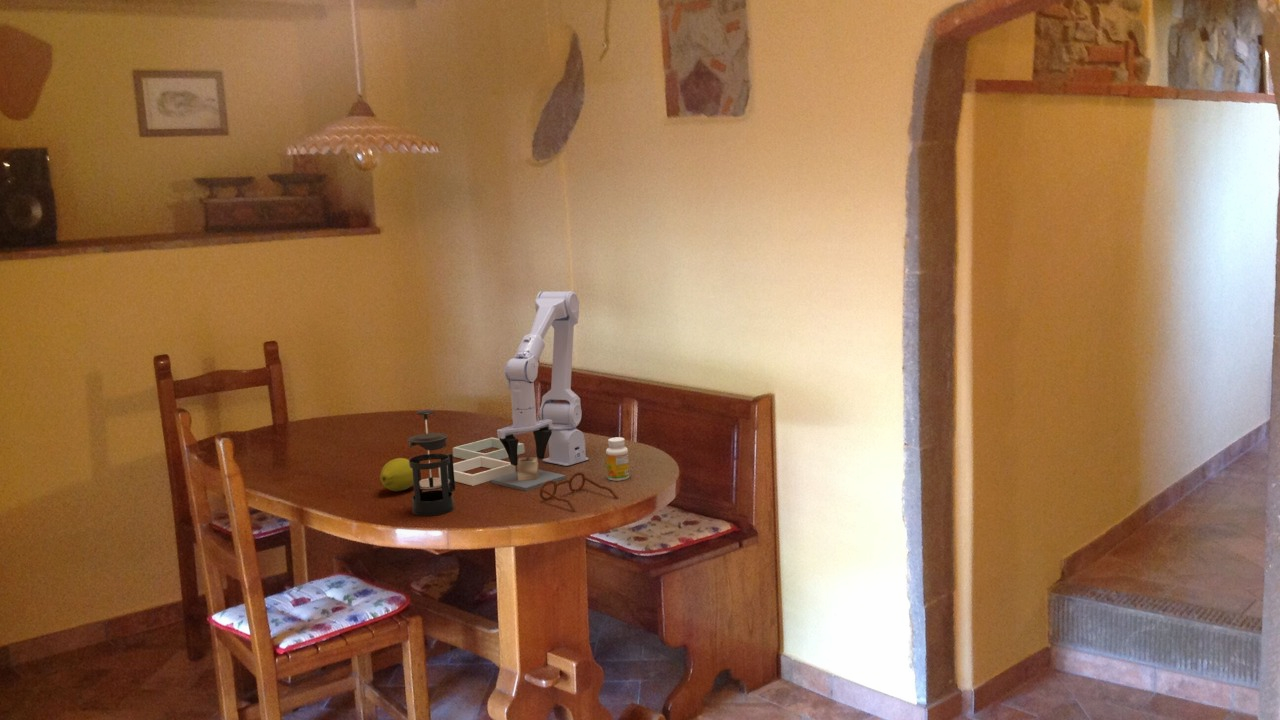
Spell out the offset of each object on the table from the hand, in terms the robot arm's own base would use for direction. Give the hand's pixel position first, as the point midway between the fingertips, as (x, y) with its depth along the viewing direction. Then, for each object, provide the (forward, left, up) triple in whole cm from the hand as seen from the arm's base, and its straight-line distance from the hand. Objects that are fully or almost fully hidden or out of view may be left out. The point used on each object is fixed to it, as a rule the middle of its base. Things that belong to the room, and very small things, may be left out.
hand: (527, 461), depth 272 cm
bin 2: (+15, +4, -5) cm, 16 cm away
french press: (0, +28, -5) cm, 29 cm away
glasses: (-23, +4, -5) cm, 24 cm away
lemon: (+20, +24, -5) cm, 32 cm away
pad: (0, 0, -5) cm, 5 cm away
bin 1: (+29, -11, -5) cm, 31 cm away
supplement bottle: (-17, -14, -5) cm, 23 cm away
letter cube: (0, 0, -4) cm, 4 cm away
